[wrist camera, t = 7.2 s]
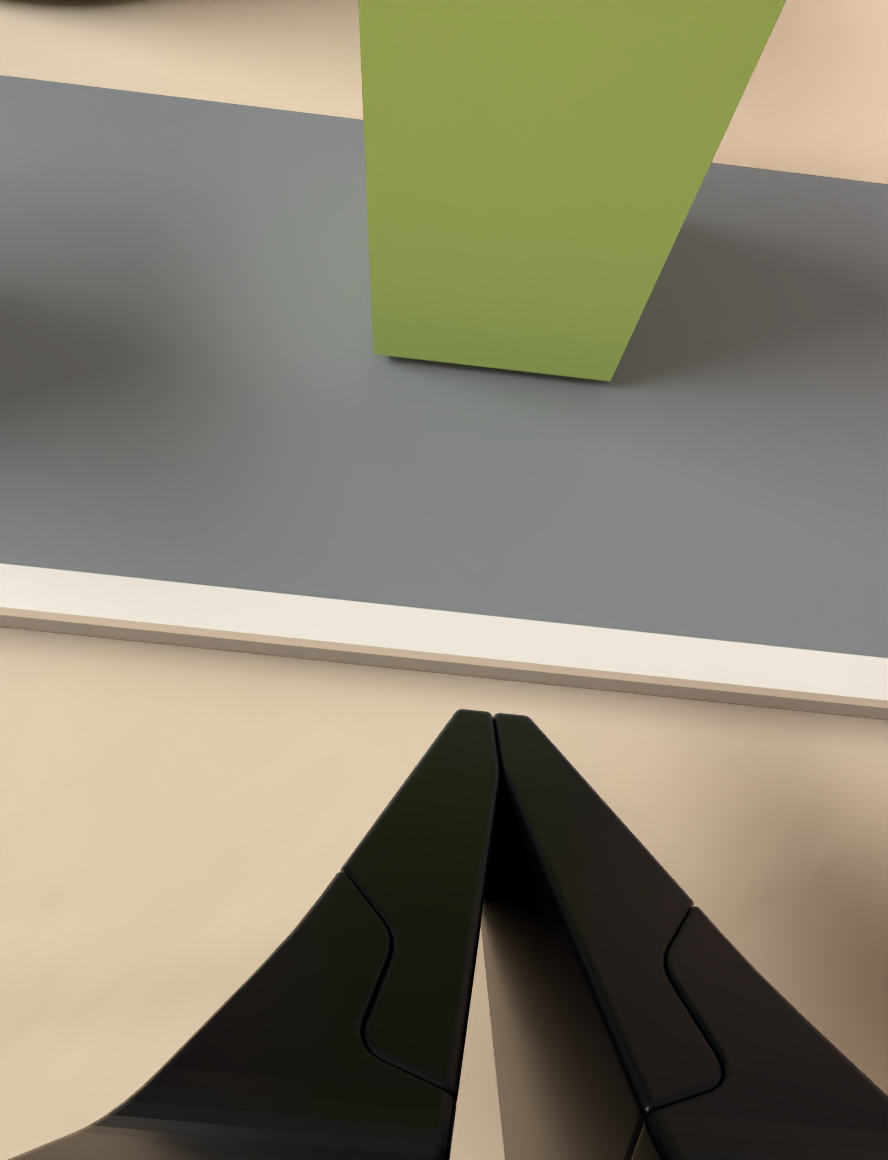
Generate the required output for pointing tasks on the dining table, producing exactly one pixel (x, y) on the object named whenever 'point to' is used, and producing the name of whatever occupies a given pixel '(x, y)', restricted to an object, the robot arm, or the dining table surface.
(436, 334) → the green block
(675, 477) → the slate board
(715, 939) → the robot arm
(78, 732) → the dining table surface
